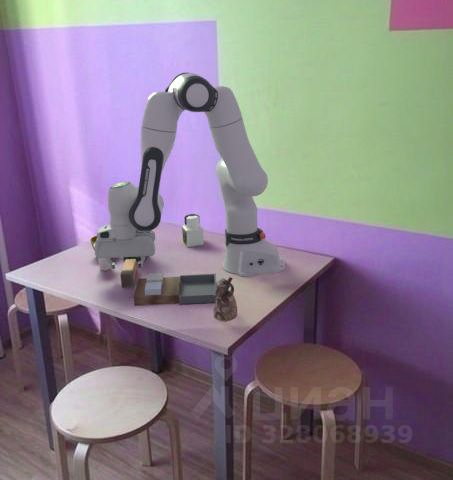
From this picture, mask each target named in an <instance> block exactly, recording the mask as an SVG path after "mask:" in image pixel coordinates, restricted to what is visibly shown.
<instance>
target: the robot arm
mask: <svg viewBox="0 0 453 480" xmlns="http://www.w3.org/2000/svg"><path fill="white" fill-rule="evenodd" d="M144 107H145V108H144V110H143V115H142V121H141V128H140V150H141V151H140V155H141V166H140V167H141V169H140V175H139V176H140V177H139V182H138V186H137V185H134V184H133V183H132V182H130V181H120V182H116V183H114V184H112V185H111V186H110V187H109V189H108V191H107V208H108V213H109V224H105V225H103V226H100V227H99V228H98V230H97V231H96V236H97V240H96V242H95V251H94V255H95V256H96V259H97V258H106V261H107V262H108V263H109V264H110V269H109V270H115V269H116V262H113V261H112V260H111V259H112V258H123V257H140V256H141V259H140V261H138V262H137V269H144V264H143V263H144V262H145V260H146V257H153V256H154V255H156V246H155V241H156V233H155V231H153V230H155V229H157V227H158V226H159V225H160V222H161V220H162V214H163V210H164V207H165V205H164V203H165V202H164V199H163V197H162V196H161V195H160V194H159V192H160V186H161V179H162V174H163V171H164V167H165V165H166V163H167V161H168V159H169V157H170V155H171V153H172V150H173V147H174V145H175V141H176V136H177V130H178V123H179V122H178V121H179V119H180V116H181V115H182V113H183V112H185V111H188V112H192V113H204V114H205V116H206V118H207V122H208V126H209V130H210V133H211V136H212V139H213V143H214V146H215V149H216V151H217V152H218V154H219V155H220V158H221V159H220V160H219V161H218V162H217V164H216V166H215V175H216V177H217V180H218V182H219V186H220V190H221V195H222V200H223V204H224V211H225V229H224V244H225V255H224V259H223V264H222V268H223V269H224V270H225V271H226V272H228V273H232V274H236V275H238V276H240V277H244V278H245V277H253V276H260V275H268V274H276V273H282V272H284V271H285V270H286V263H285V260H284V258H282V257H281V256H280V254H279V251H278V249H277V247H276V246H275V245H274V244H272V242H270V241H268V240H266V233H265V232H264V230H262V228H261V227H259V228H258V206H257V204H256V202H255V200H254V197H257V196H259V195H261V194H263V193H264V192H265V191H266V189H267V186H268V183H269V178H268V174H267V173H266V171H265V170H264V169H263V168H262V166H261V163H260V162H259V159H258V158H257V155H256V154H255V151H254V149H253V146H252V145H251V143H250V139H249V137H248V134H247V133H248V132H247V130H246V126H245V123H244V118H243V115H242V112H241V108H240V106H239V103H238V101H237V98H236V96H235V94H234V92H233V90H232V89H231V88H230V87H227V86H219V85H218V86H215V87H214V86H213V85H212V84H211V82H209V81H208V80H207V79H206V78H205V77H203V76H201V75H199V74H197V73H194V72H182V73H179V74H178V75H176V76H175V77H174V78H173V79H172V81H170V83H169V84H168V86H167V87H166V88H165V90H164V91H156V92H153V93H151V94H150V95H149V96H148V97H147V101H146V103H145V106H144ZM137 229H138V230H137ZM145 256H146V257H145Z"/></svg>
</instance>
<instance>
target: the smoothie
mask: <svg viewBox="0 0 453 480" xmlns="http://www.w3.org/2000/svg"><path fill="white" fill-rule="evenodd" d="M94 248H95V244H94ZM96 259H97V262H98V265H99V269H100V271H105V272H106V271H109V270H111V269H110V264H109V263H108V262H107V261H106V258H97V257H96Z"/></svg>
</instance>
